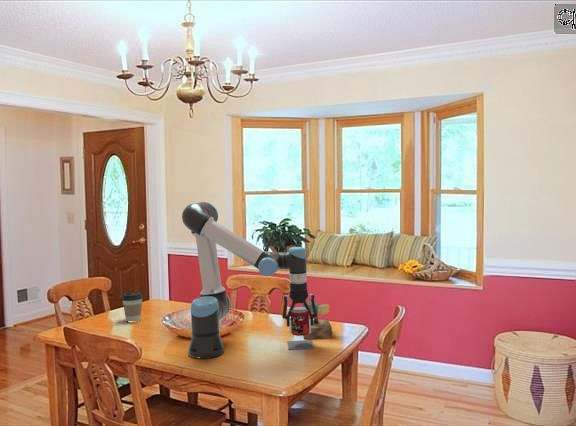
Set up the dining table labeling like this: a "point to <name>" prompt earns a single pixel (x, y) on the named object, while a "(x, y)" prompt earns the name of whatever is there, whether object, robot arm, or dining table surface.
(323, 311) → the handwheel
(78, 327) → the dining table surface
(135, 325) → the dining table surface
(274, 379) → the dining table surface
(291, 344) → the rubber mat
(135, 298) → the coffee cup
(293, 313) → the canned food
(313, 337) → the walnut block
